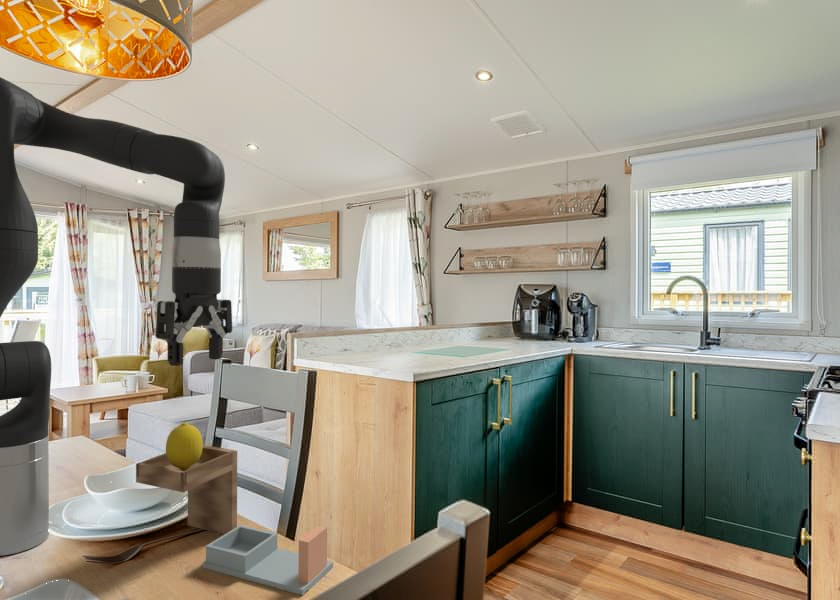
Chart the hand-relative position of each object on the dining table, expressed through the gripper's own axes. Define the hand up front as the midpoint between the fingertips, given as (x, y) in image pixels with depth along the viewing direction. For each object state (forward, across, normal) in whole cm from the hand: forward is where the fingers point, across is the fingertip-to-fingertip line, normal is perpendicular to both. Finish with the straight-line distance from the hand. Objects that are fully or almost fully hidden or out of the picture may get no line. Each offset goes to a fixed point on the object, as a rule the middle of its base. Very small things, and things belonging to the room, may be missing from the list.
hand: (196, 362), depth 87 cm
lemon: (+18, -3, 0) cm, 18 cm away
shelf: (+30, -2, 0) cm, 30 cm away
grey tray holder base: (+30, -2, -17) cm, 35 cm away
